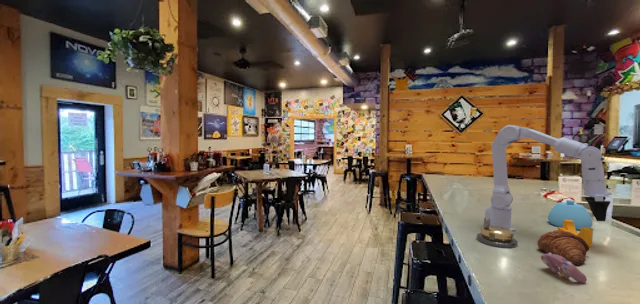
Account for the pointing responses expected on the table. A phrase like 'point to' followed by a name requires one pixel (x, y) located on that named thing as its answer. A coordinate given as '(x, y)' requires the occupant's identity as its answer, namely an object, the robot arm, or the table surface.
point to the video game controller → (563, 267)
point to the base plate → (497, 244)
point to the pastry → (564, 246)
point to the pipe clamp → (584, 232)
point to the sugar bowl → (570, 215)
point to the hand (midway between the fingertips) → (599, 218)
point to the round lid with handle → (496, 232)
